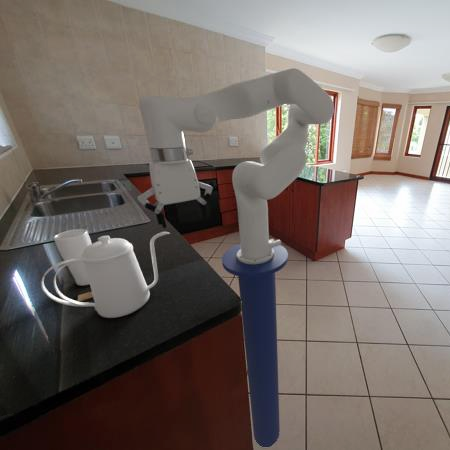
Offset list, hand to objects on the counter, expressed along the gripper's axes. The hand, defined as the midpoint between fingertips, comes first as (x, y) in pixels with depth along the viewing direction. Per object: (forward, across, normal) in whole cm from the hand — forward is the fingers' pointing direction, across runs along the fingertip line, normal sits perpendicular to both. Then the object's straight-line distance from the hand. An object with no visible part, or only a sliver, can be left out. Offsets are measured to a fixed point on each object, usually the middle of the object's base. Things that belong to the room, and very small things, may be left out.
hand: (184, 221), depth 63 cm
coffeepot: (+18, +17, 0) cm, 25 cm away
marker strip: (+18, +23, -9) cm, 30 cm away
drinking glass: (+18, +25, -17) cm, 35 cm away
